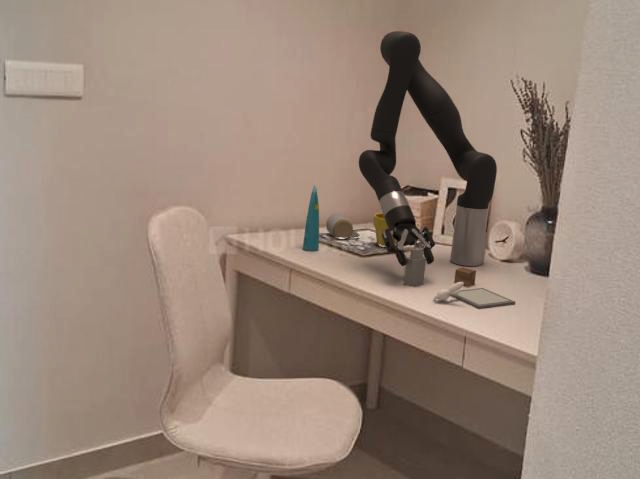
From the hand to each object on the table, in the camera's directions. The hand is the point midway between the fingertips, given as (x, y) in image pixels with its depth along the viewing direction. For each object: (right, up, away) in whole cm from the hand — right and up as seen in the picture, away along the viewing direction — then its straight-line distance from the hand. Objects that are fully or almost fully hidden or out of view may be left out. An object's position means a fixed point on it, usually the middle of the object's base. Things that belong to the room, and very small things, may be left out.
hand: (418, 263), depth 186 cm
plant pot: (-4, +4, +43) cm, 44 cm away
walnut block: (+13, -6, +6) cm, 16 cm away
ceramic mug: (-18, +7, +50) cm, 54 cm away
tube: (-28, +3, +32) cm, 43 cm away
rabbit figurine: (+6, -9, -11) cm, 15 cm away
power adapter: (-1, -6, +2) cm, 6 cm away
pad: (+15, -9, -7) cm, 18 cm away
